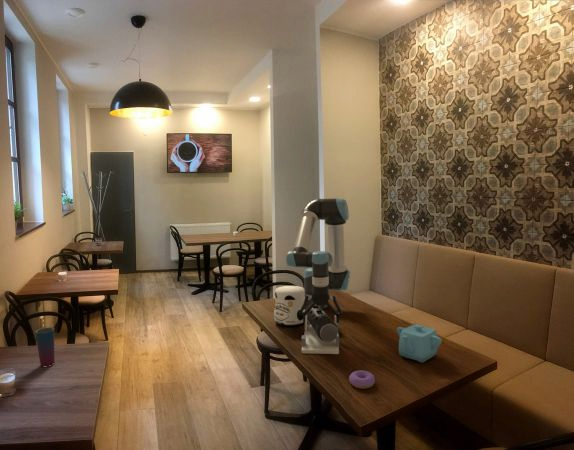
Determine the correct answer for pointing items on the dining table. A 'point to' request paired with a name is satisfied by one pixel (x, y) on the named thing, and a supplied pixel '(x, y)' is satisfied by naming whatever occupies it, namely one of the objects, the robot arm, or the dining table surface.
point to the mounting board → (318, 342)
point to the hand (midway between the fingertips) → (320, 329)
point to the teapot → (418, 342)
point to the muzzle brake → (322, 324)
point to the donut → (362, 379)
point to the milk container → (289, 305)
